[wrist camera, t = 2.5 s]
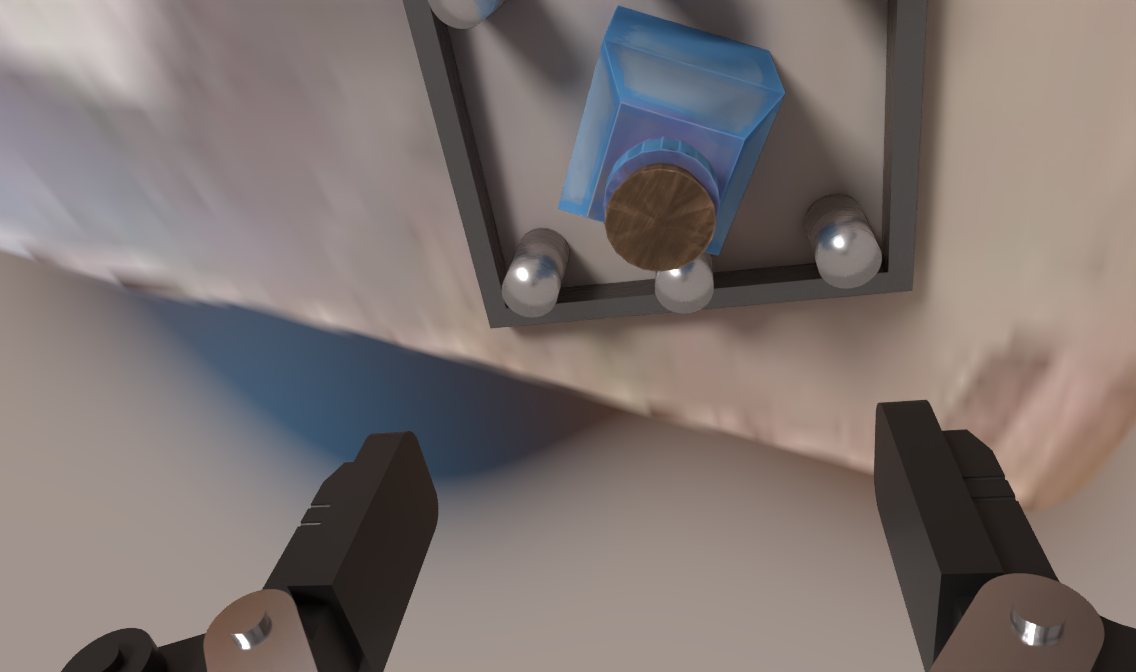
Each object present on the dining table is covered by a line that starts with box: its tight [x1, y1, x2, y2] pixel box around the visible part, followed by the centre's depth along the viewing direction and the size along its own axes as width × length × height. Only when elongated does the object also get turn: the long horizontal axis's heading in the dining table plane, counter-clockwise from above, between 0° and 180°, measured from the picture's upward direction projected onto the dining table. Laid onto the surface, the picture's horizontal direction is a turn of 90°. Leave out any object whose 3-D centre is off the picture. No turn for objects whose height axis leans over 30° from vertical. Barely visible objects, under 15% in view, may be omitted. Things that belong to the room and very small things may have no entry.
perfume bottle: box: [558, 6, 785, 272], centre depth 27 cm, size 6×6×12 cm
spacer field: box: [403, 0, 927, 328], centre depth 31 cm, size 19×18×4 cm
